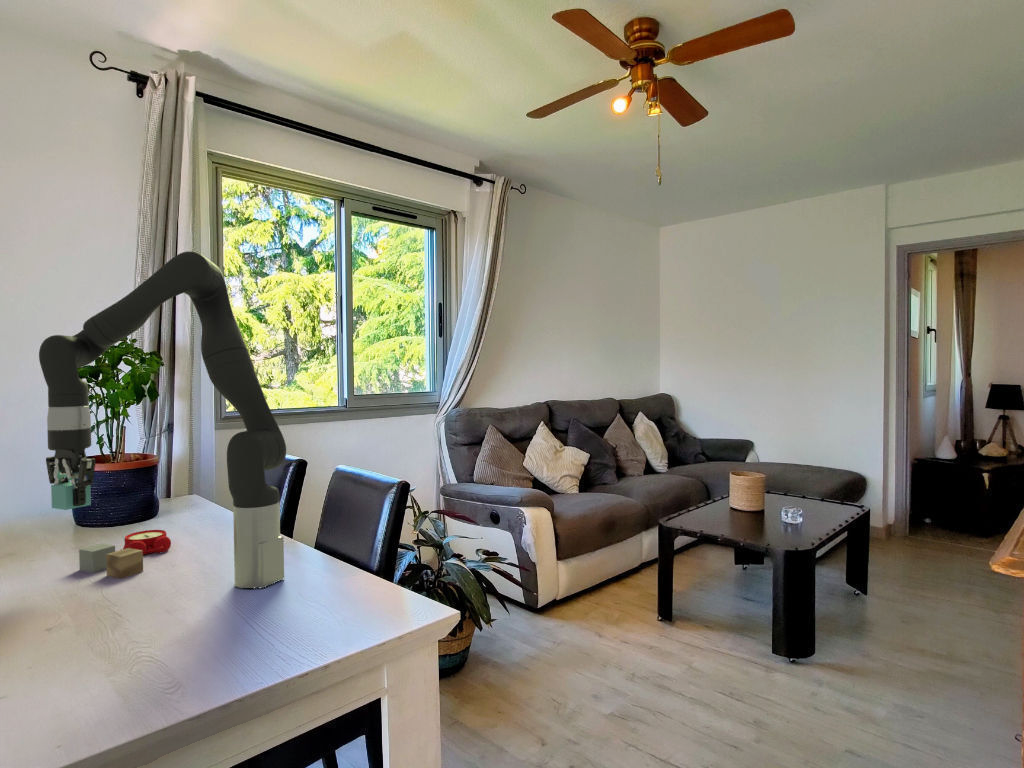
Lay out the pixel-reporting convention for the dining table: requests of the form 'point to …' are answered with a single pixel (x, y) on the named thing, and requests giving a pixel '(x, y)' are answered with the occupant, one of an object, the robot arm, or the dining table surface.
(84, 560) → the grey-green rectangular block
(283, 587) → the dining table surface
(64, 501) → the teal block
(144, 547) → the alarm clock
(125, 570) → the brass block
